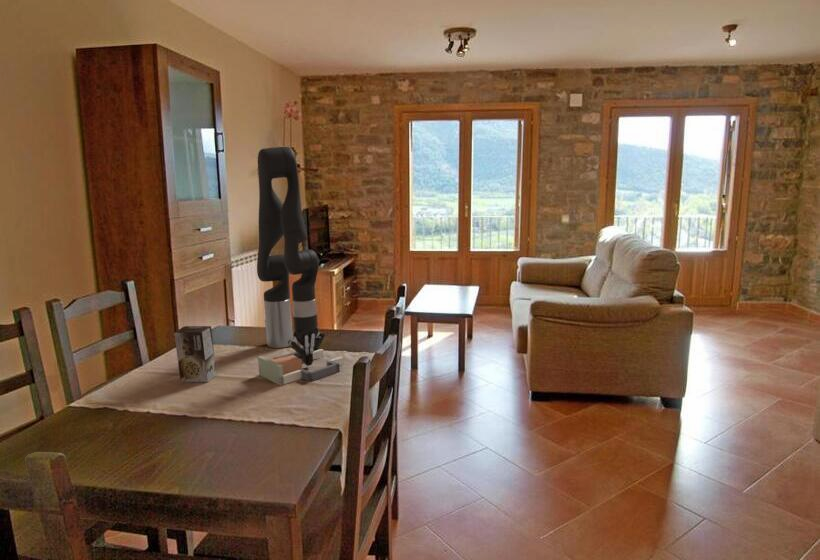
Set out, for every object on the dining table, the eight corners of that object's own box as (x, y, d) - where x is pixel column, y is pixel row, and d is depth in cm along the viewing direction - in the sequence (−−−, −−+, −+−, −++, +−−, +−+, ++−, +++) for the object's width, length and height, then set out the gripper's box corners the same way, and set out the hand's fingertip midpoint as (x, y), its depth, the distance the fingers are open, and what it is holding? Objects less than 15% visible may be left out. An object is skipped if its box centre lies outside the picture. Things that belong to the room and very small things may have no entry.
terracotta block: (270, 373, 168) (269, 360, 167) (294, 367, 173) (293, 354, 172) (278, 379, 164) (277, 365, 163) (302, 373, 168) (301, 359, 167)
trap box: (253, 371, 170) (251, 354, 168) (315, 353, 186) (314, 336, 185) (287, 389, 155) (286, 369, 154) (351, 367, 171) (350, 349, 170)
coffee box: (217, 374, 168) (212, 325, 165) (207, 382, 162) (202, 331, 158) (189, 374, 169) (184, 325, 166) (179, 382, 163) (173, 331, 159)
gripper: (315, 307, 176) (318, 356, 179) (280, 315, 167) (284, 367, 170) (329, 311, 170) (331, 362, 174) (293, 319, 161) (296, 373, 165)
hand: (308, 364), depth 172 cm, fingers closed
